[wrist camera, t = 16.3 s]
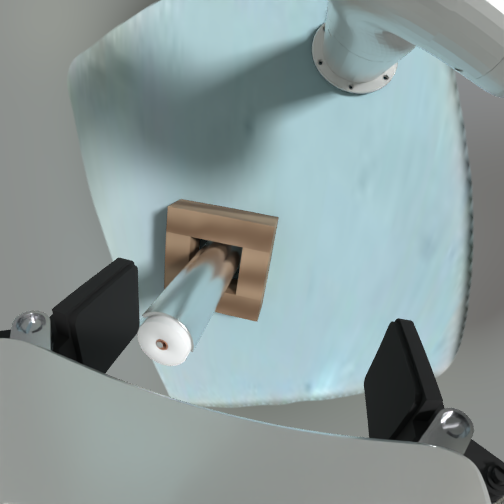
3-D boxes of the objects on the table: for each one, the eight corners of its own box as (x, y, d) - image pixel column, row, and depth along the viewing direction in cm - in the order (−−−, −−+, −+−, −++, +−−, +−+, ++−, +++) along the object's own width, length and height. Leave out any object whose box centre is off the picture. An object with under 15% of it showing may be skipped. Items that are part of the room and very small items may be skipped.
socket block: (180, 199, 51) (167, 206, 46) (278, 217, 49) (274, 226, 44) (175, 285, 57) (164, 298, 52) (261, 305, 55) (257, 321, 51)
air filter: (232, 228, 51) (168, 310, 28) (249, 264, 53) (201, 364, 30) (198, 242, 53) (120, 325, 30) (215, 276, 55) (152, 373, 32)
